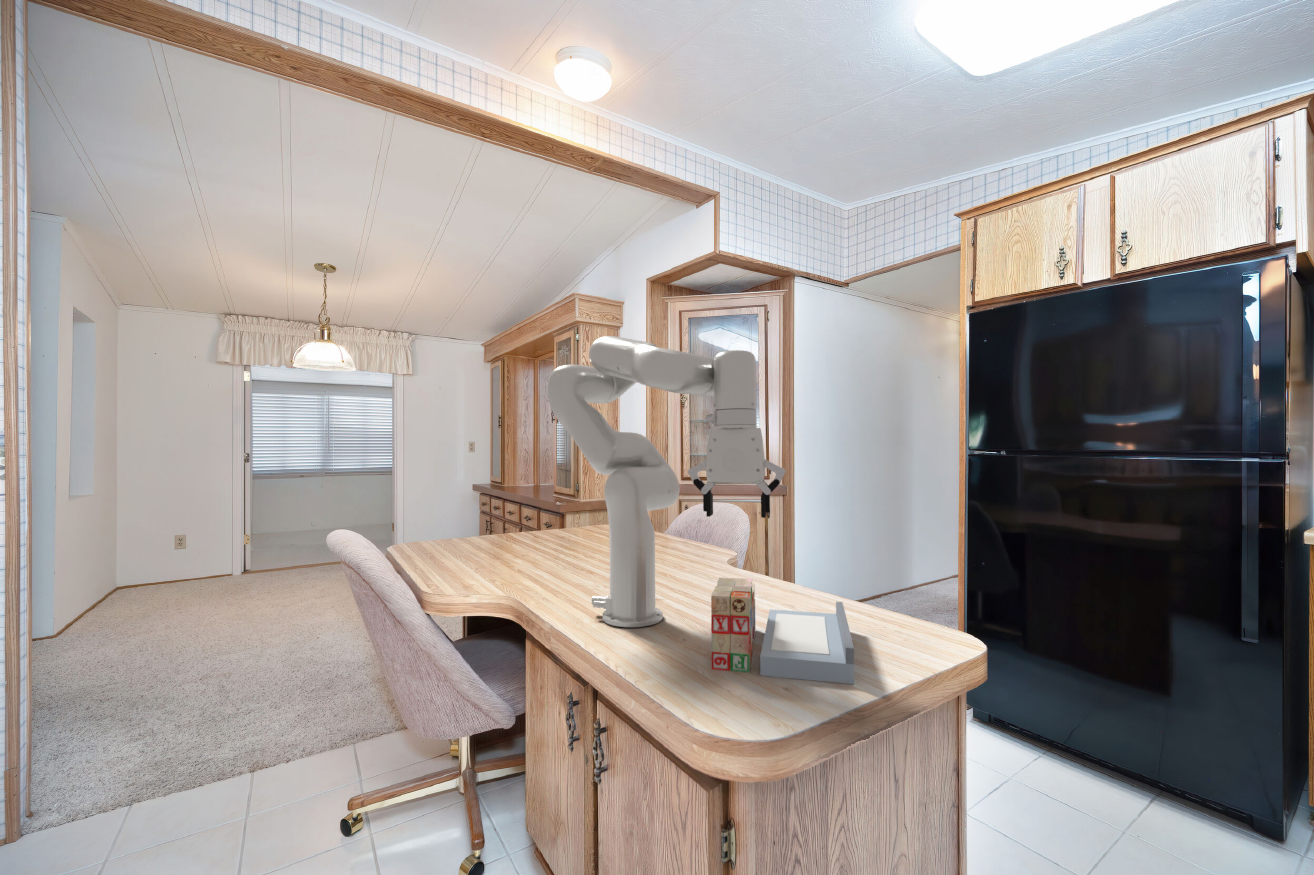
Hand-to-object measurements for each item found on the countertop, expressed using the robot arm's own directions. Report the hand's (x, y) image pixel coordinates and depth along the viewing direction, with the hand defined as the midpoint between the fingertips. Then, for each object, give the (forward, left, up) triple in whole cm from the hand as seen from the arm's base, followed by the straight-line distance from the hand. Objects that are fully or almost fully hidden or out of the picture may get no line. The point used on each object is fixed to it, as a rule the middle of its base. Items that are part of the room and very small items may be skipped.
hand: (736, 516), depth 101 cm
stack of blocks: (0, 0, -24) cm, 24 cm away
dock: (+12, +2, -24) cm, 26 cm away
